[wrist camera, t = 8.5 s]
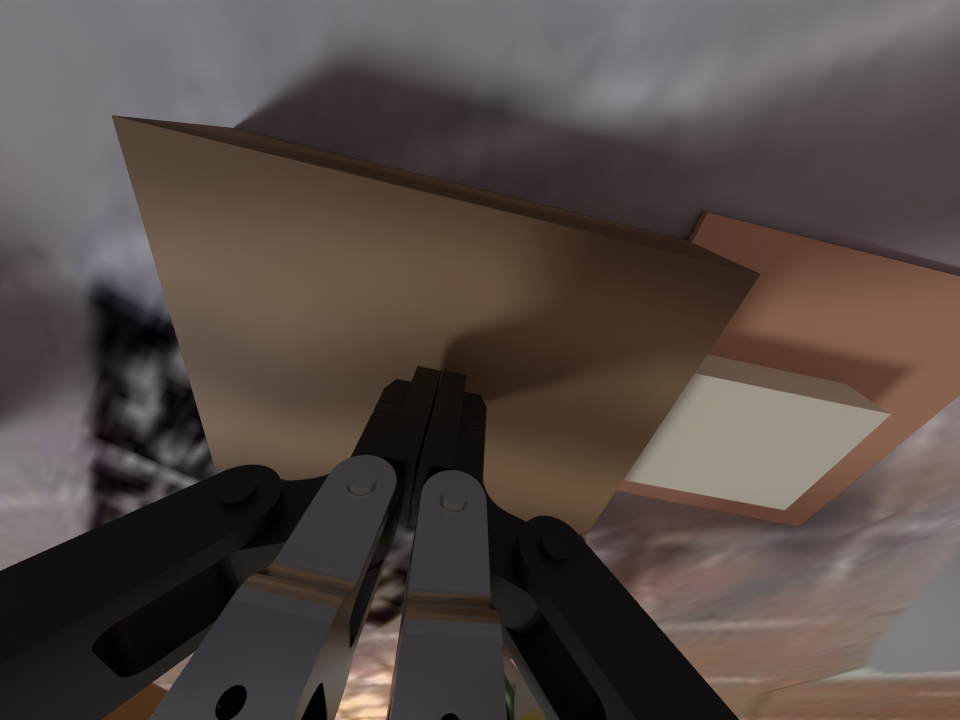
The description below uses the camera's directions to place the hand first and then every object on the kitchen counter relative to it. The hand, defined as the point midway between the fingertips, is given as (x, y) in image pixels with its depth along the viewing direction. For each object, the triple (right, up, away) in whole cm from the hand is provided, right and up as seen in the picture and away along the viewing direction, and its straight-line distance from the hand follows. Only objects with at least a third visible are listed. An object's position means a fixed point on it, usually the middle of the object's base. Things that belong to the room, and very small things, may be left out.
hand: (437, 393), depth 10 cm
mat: (+14, -1, +5) cm, 15 cm away
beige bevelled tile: (+12, -2, +5) cm, 13 cm away
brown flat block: (0, +2, +4) cm, 5 cm away
